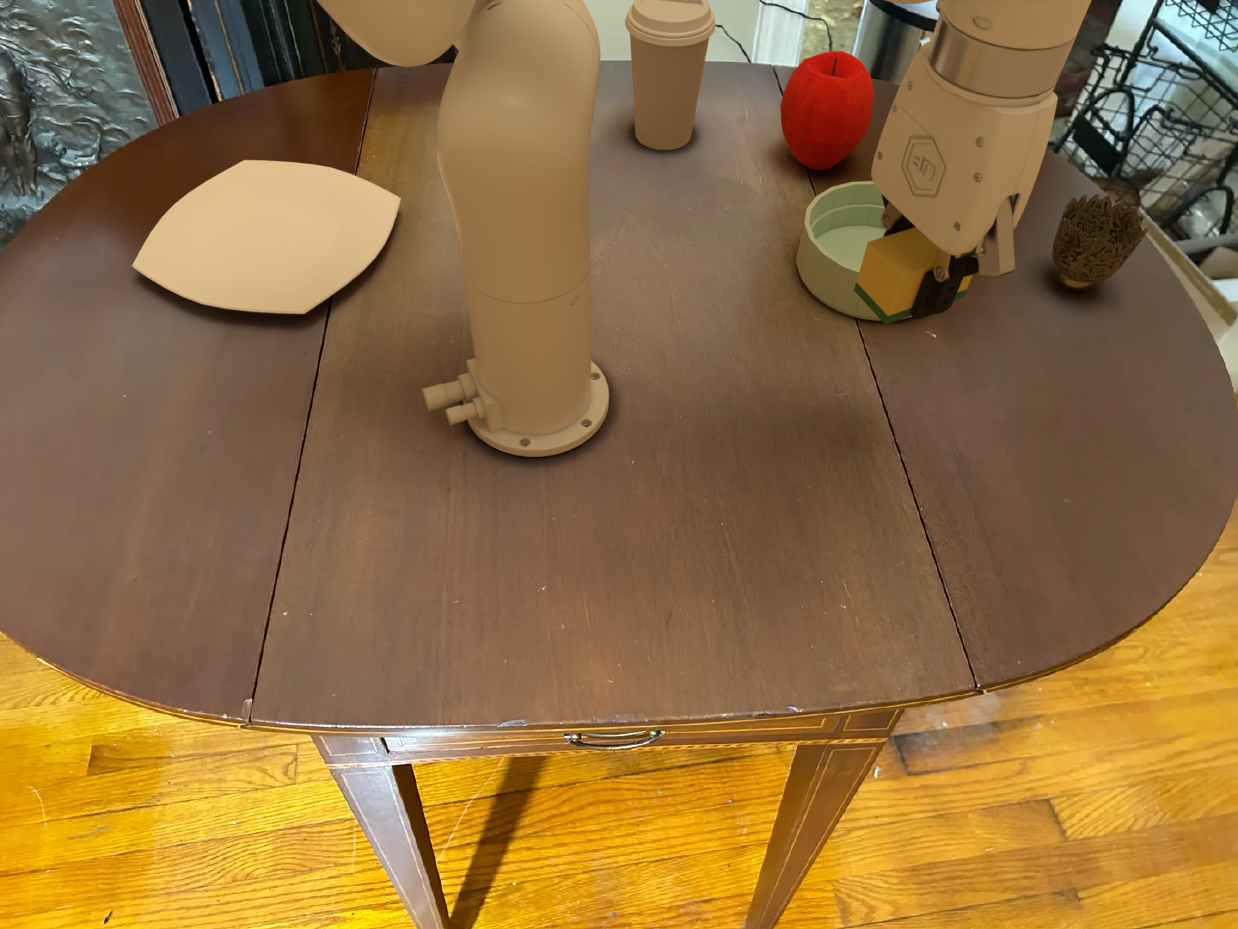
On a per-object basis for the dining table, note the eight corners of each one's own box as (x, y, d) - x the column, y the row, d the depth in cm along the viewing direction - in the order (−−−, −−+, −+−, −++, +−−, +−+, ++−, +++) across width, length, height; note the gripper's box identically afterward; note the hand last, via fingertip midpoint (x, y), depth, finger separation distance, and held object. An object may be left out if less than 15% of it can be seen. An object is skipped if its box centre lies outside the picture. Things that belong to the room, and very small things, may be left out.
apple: (788, 127, 107) (807, 24, 98) (869, 149, 105) (897, 45, 95) (759, 170, 102) (776, 66, 92) (844, 195, 99) (870, 90, 90)
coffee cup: (718, 128, 107) (733, -3, 95) (678, 167, 102) (689, 34, 90) (649, 103, 110) (655, -26, 98) (606, 140, 105) (607, 8, 93)
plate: (243, 160, 101) (238, 144, 99) (432, 205, 96) (429, 189, 95) (105, 289, 87) (96, 273, 86) (317, 349, 83) (312, 333, 81)
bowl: (846, 340, 85) (859, 295, 81) (768, 245, 94) (776, 200, 89) (976, 300, 89) (996, 255, 85) (890, 212, 97) (904, 168, 93)
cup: (1114, 313, 88) (1154, 247, 82) (1036, 302, 89) (1070, 235, 83) (1105, 265, 93) (1142, 198, 86) (1030, 254, 94) (1062, 187, 87)
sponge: (885, 324, 65) (901, 275, 61) (853, 290, 67) (867, 241, 64) (963, 297, 67) (983, 248, 63) (930, 265, 69) (948, 216, 66)
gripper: (861, -3, 56) (805, 238, 70) (1046, 138, 47) (938, 383, 61) (958, -23, 58) (885, 215, 73) (1153, 108, 49) (1025, 352, 63)
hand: (910, 290), depth 67 cm, fingers closed on sponge, 4 cm apart
